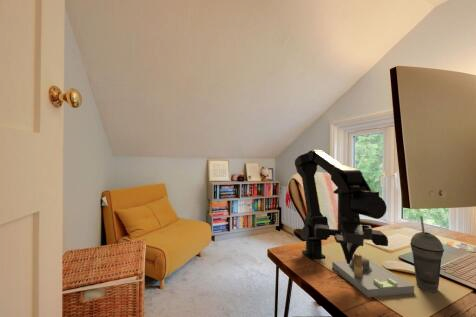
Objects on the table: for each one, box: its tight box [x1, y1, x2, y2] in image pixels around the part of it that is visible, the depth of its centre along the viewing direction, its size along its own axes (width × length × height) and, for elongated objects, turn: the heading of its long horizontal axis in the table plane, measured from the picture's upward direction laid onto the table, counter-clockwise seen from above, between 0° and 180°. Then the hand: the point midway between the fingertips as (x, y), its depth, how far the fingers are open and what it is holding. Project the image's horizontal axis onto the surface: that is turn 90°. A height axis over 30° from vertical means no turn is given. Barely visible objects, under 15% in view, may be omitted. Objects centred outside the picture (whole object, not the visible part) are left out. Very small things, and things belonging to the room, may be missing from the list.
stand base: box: [331, 258, 415, 298], centre depth 64 cm, size 16×14×3 cm
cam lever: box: [351, 253, 369, 278], centre depth 64 cm, size 10×5×6 cm, turn 145°
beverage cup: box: [409, 216, 445, 293], centre depth 60 cm, size 7×7×20 cm
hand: (348, 263), depth 62 cm, fingers closed
